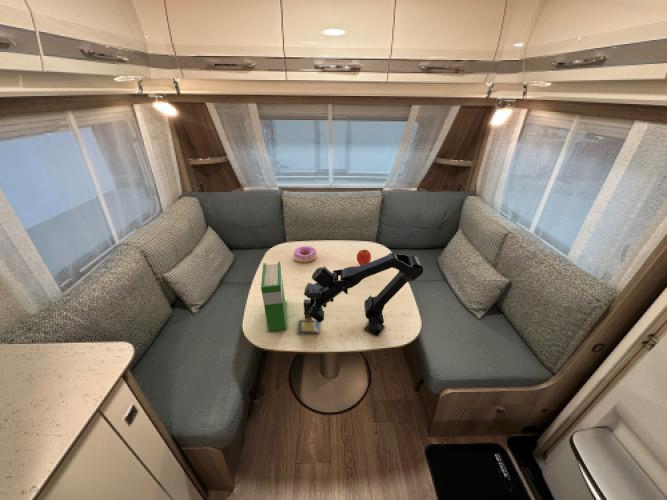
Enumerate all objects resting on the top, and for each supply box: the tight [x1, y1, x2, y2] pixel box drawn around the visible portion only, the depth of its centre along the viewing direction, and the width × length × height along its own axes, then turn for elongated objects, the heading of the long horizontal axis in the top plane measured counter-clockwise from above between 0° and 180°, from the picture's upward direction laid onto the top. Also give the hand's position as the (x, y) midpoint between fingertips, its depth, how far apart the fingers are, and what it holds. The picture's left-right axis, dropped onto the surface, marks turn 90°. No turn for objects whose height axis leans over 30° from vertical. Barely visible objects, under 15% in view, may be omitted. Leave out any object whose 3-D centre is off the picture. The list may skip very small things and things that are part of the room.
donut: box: [293, 245, 317, 263], centre depth 167 cm, size 14×14×5 cm
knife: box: [303, 298, 312, 322], centre depth 113 cm, size 3×2×14 cm
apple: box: [356, 249, 372, 266], centre depth 156 cm, size 9×8×11 cm
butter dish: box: [297, 315, 320, 335], centre depth 117 cm, size 8×7×4 cm
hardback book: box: [260, 261, 287, 332], centre depth 118 cm, size 18×7×24 cm, turn 10°
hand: (304, 311), depth 113 cm, fingers closed on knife, 2 cm apart
